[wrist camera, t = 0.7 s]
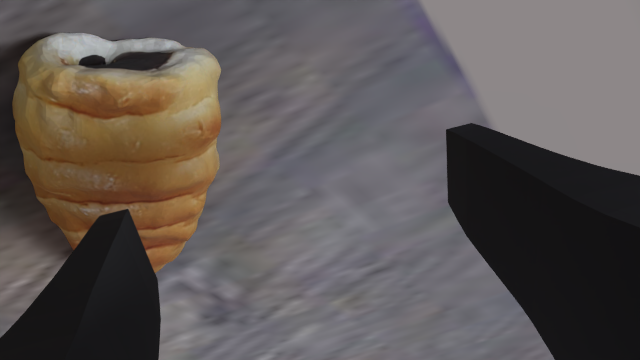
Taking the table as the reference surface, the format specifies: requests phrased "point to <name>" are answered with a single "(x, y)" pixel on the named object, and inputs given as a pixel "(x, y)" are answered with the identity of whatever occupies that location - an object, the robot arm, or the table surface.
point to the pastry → (120, 134)
